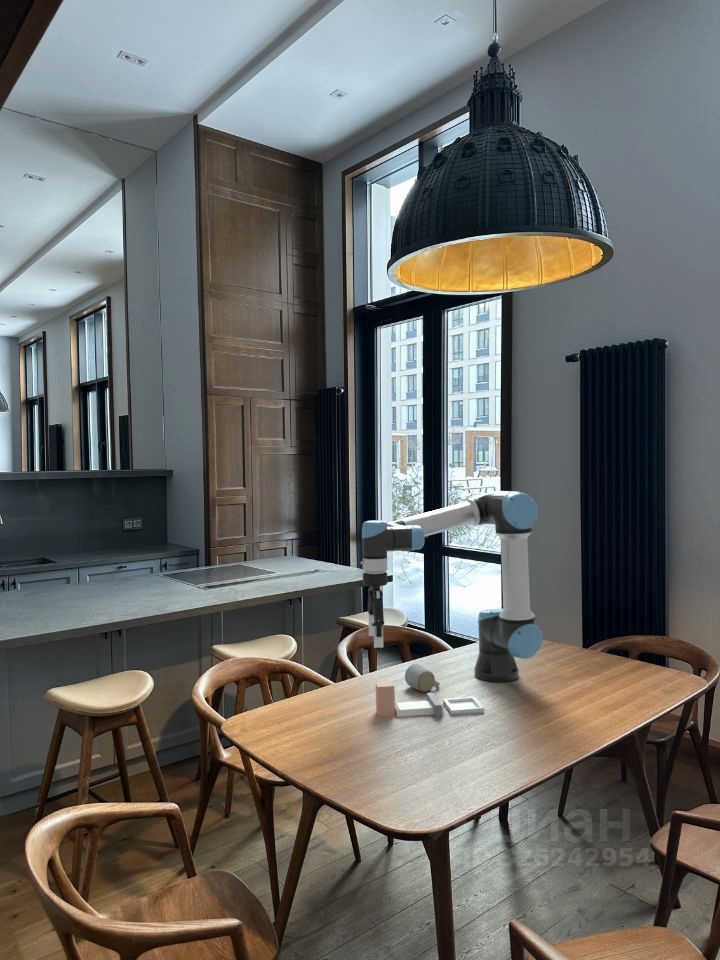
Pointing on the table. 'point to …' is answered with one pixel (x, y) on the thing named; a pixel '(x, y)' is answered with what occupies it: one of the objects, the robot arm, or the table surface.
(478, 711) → the stub tray
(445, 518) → the robot arm
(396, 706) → the white grey t-shaped block
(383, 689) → the stub
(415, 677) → the ceramic mug
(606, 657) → the table surface
